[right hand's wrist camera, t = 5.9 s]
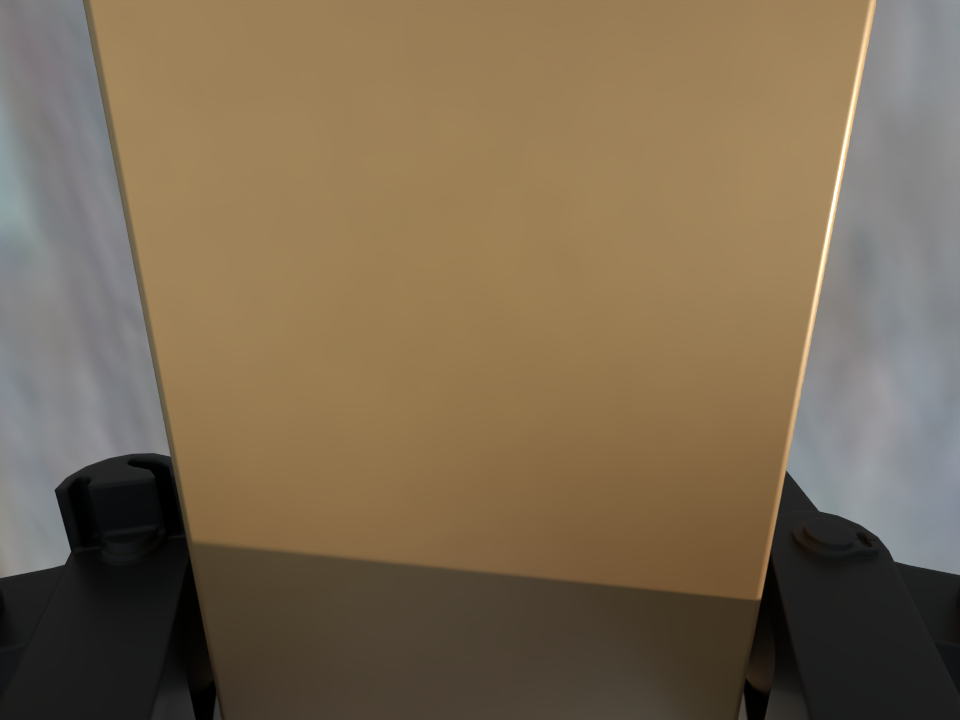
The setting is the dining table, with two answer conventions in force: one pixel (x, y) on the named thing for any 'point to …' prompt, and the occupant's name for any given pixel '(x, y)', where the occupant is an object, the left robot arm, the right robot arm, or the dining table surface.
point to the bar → (479, 334)
